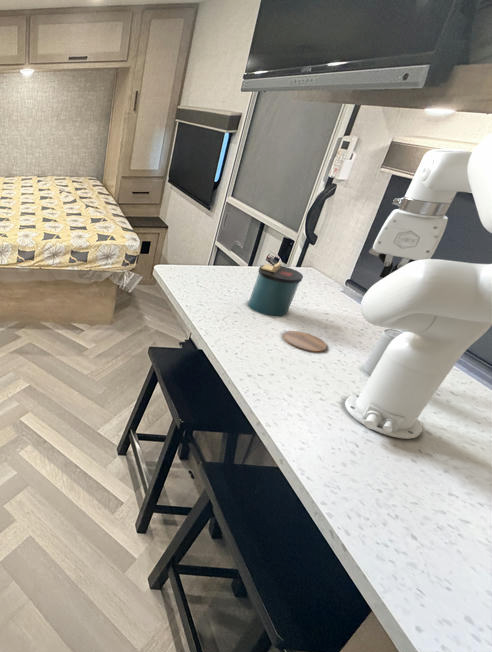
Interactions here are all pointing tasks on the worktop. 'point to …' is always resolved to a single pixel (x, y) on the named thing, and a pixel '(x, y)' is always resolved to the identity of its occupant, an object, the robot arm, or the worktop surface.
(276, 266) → the slider
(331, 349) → the worktop surface
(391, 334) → the beverage can
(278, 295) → the teal cylinder tin
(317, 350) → the coaster
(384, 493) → the worktop surface
